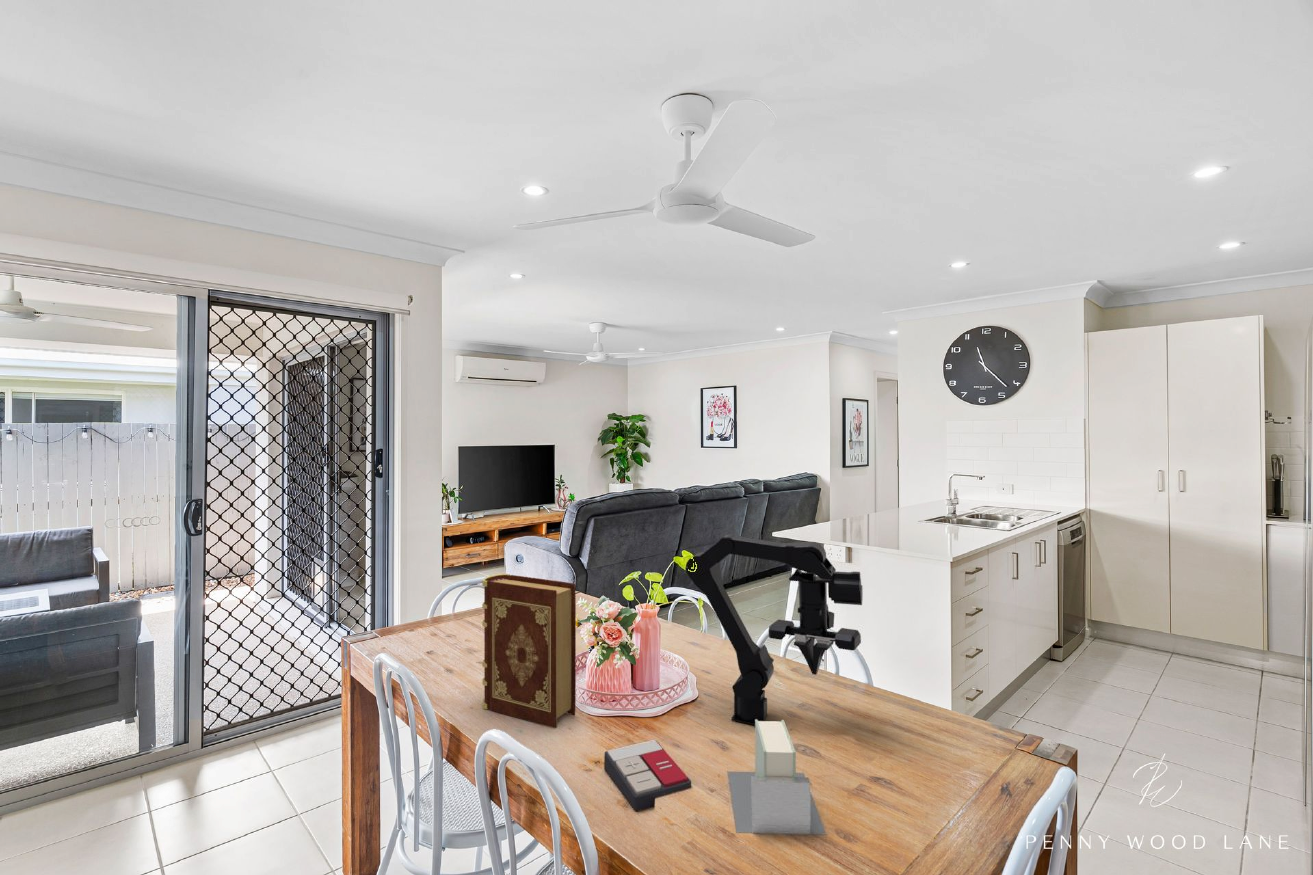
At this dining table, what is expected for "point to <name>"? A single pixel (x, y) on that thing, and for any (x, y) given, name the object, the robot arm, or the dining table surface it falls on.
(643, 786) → the calculator
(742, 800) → the shelf board
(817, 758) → the dining table surface
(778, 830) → the bookend
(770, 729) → the book
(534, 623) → the decorative book
